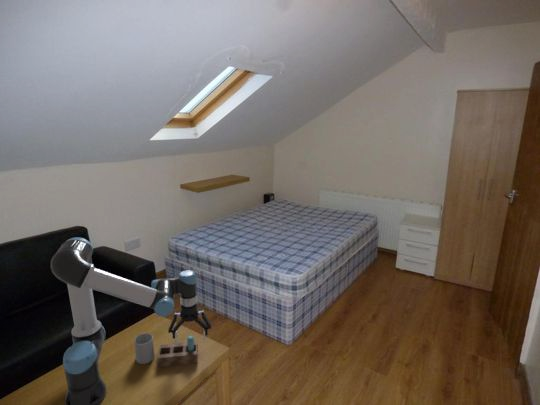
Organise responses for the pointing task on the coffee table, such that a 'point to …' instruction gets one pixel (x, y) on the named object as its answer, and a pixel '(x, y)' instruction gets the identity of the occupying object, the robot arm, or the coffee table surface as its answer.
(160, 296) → the robot arm
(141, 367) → the coffee table surface
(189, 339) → the peg
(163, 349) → the hole block
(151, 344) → the mug
